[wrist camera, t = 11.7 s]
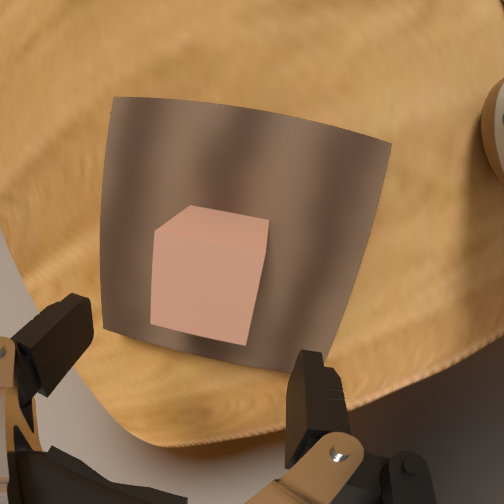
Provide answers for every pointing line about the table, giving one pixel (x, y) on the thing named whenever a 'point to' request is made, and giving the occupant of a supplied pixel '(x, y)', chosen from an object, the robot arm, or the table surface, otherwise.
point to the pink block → (208, 273)
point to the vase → (494, 129)
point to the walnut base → (245, 203)
